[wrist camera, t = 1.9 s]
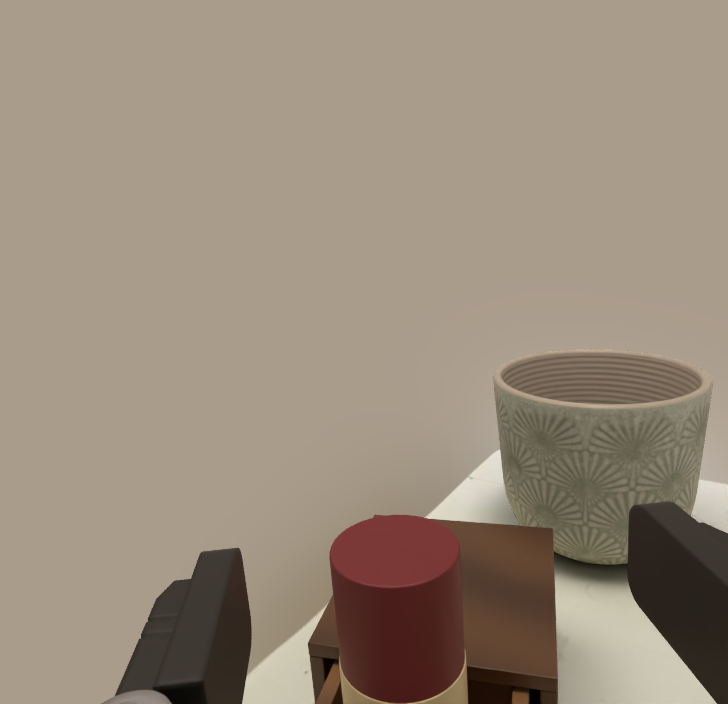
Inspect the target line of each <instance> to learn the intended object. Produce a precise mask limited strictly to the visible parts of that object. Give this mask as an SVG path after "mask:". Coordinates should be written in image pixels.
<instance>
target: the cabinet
mask: <svg viewBox="0 0 728 704" xmlns="http://www.w3.org/2000/svg"><path fill="white" fill-rule="evenodd" d="M381 516H382V515H374V517H373V518H376V517H381ZM430 520H433V521H436V522H438V523H440V524H442V525H443V526H445V527H447V528H448V529H449V530H450V531H451V532H452V533H453V534H454V535H455V536H456V538H457V540H458V542H459V545H460V554H461V577H462V600H463V623H464V646H465V651H466V664H467V679H471V680H478V681H484V682H491V683H498V684H505V685H511V686H518V687H525V688H530V704H558V673H557V641H556V610H555V579H554V547H553V528H543V527H529V526H516V525H502V524H489V523H476V522H462V521H449V520H436V519H430ZM308 647H309V655H310V662H311V671H312V680H313V688H314V697H315V704H316V702H317V699H318V697H319V695H320V693H321V690H322V688H323V686H324V684H325V681H326V679H327V677H328V675H329V672H330V670H331V668H332V666H333V663H334V661H335V659H337V660H339V645H338V636H337V626H336V616H335V606H334V596H332V598H331V600H330V602H329V604H328V605H327V607H326V609H325V611H324V613H323V615H322V617H321V619H320V621H319V623H318V625H317V627H316V629H315V630H314V632H313V634H312V636H311V638H310V640H309V642H308Z"/></svg>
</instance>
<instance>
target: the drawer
mask: <svg viewBox="0 0 728 704" xmlns="http://www.w3.org/2000/svg"><path fill="white" fill-rule="evenodd" d="M467 688H468V704H530V688H525V687H518V686H511V685H505V684H498V683H491V682H484V681H478V680H471V679H467ZM316 704H343V697H342V687H341V677H340V667H339V660H337V659H335V661H334V663H333V666H332V668H331V670H330V672H329V675H328V677H327V679H326V681H325V684H324V686H323V688H322V690H321V693H320V695H319V697H318V699H317V702H316Z"/></svg>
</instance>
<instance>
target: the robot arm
mask: <svg viewBox="0 0 728 704" xmlns="http://www.w3.org/2000/svg"><path fill="white" fill-rule="evenodd" d="M627 572H628V581H629V586H630V589H631V592H632V595H633V597H634V599H635V601H636V603H637V604H638V606H639V607H640V608H641V609H642V611H643V612H644V613H645V614H646V616H647V617H648V618H649V619H650V621H651V622H652V623H653V624H654V626H655V627H656V628H657V629H658V631H659V632H660V633H661V634H662V636H663V637H664V638H665V639H666V641H667V642H668V643H669V644H670V645H671V647H672V648H673V649H674V650H675V652H676V653H677V654H678V655H679V657H680V658H681V659H682V660H683V662H684V663H685V664H686V665H687V667H688V668H689V669H690V670H691V672H692V673H693V674H694V675H695V677H696V678H697V679H698V680H699V681H700V683H701V684H702V685H703V686H704V688H705V689H706V690H707V691H708V693H709V694H710V695H711V696H712V698H713V699H714V700H715V701H716V703H717V704H728V534H727V533H725V532H723V531H721V530H719V529H716V528H714V527H712V526H710V525H708V524H705V523H703V522H702V523H698V522H697V521H696V520H695V519H694V518H692V517H691V516H690V515H689V514H687V513H686V512H685V511H684V510H683V509H681V508H680V507H679V506H678V505H677V504H675V503H674V502H671V501H666V502H657V503H648V504H639V505H633V506H632V507H631V509H630V512H629V525H628V568H627ZM250 650H251V616H250V609H249V602H248V595H247V588H246V582H245V574H244V568H243V561H242V555H241V551H240V549H239V548H232V549H222V550H213V551H204V552H201V553H200V556H199V558H198V561H197V564H196V567H195V569H194V572H193V575H192V578H191V579H187V580H178V581H174V582H173V583H172V584H171V585H170V586H169V587H168V588H167V589H166V590H165V591H164V592H163V593H162V594H161V595H160V596H159V597H158V598H157V599H156V601H155V604H154V606H153V608H152V610H151V613H150V615H149V617H148V622H147V623H146V625H145V627H144V629H143V631H142V634H141V639H139V641H138V643H137V645H136V648H135V650H134V652H133V655H132V657H131V659H130V662H129V664H128V666H127V669H126V671H125V674H124V676H123V678H122V681H121V683H120V685H119V688H118V690H117V692H116V694H115V697H113V698H111V699H109V700H107V701H105V702H104V703H102V704H242V700H243V694H244V688H245V681H246V675H247V669H248V663H249V656H250Z"/></svg>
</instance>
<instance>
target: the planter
mask: <svg viewBox="0 0 728 704" xmlns="http://www.w3.org/2000/svg"><path fill="white" fill-rule="evenodd" d="M493 381H494V391H495V401H496V411H497V421H498V430H499V440H500V450H501V460H502V469H503V479H504V485H505V490H506V494H507V497H508V500H509V503H510V506H511V508H512V510H513V513H514V514H515V516H516V518H517V520H518V521H519V523H520V524H521V526H529V527H543V528H553V547H554V552H556V553H558V554H560V555H563V556H565V557H568V558H571V559H574V560H578V561H582V562H587V563H593V564H603V565H617V564H627V563H628V525H629V512H630V509H631V507H632V506H633V505H639V504H648V503H657V502H666V501H671V502H674V503H675V504H677V505H678V506H679V507H680V508H681V509H683V510H684V511H685V512H686V513H687V514H689V515H690V516H691V513H692V510H693V507H694V503H695V499H696V494H697V488H698V481H699V474H700V468H701V461H702V454H703V448H704V441H705V434H706V428H707V421H708V414H709V408H710V401H711V394H712V388H713V383H712V379H711V377H710V376H709V375H708V374H707V373H706V372H705V371H703V370H702V369H700V368H698V367H697V366H694V365H692V364H689V363H687V362H684V361H681V360H677V359H673V358H670V357H666V356H660V355H655V354H649V353H641V352H634V351H623V350H603V349H583V350H562V351H552V352H545V353H539V354H532V355H528V356H524V357H520V358H517V359H514V360H511V361H509V362H507V363H505V364H503V365H502V366H500V367H499V368H498V369H497V370H496V371H495V373H494V376H493Z"/></svg>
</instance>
